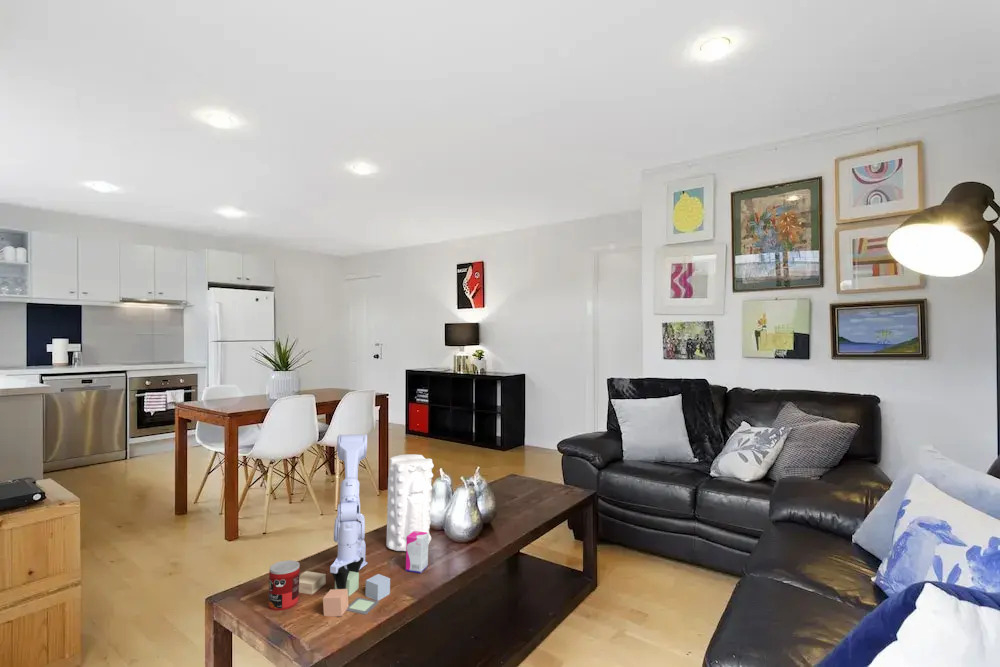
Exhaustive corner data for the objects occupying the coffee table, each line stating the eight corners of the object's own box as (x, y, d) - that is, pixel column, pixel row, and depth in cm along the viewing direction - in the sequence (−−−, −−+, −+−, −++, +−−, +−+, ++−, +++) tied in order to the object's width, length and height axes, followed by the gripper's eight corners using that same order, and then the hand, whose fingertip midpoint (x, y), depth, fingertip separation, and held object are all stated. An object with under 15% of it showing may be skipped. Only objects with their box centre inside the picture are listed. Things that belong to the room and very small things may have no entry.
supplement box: (428, 566, 171) (429, 532, 171) (421, 573, 165) (422, 538, 165) (412, 563, 173) (413, 530, 173) (404, 571, 167) (405, 536, 167)
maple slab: (305, 582, 158) (305, 571, 158) (325, 585, 157) (325, 573, 157) (291, 592, 152) (291, 581, 152) (312, 596, 150) (312, 584, 150)
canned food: (264, 604, 145) (265, 565, 145) (292, 594, 150) (293, 557, 150) (274, 615, 139) (275, 574, 139) (303, 604, 145) (304, 566, 145)
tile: (357, 598, 149) (357, 596, 149) (379, 602, 147) (379, 601, 147) (343, 610, 142) (344, 608, 142) (365, 615, 140) (365, 613, 140)
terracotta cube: (331, 607, 144) (330, 589, 144) (348, 606, 143) (347, 588, 143) (324, 616, 139) (322, 598, 139) (341, 616, 138) (340, 597, 138)
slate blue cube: (377, 590, 154) (378, 573, 154) (389, 595, 152) (390, 578, 152) (365, 597, 150) (365, 580, 150) (377, 602, 147) (377, 585, 147)
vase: (420, 532, 200) (422, 451, 200) (438, 547, 186) (440, 460, 187) (378, 540, 191) (381, 456, 191) (394, 557, 177) (396, 465, 178)
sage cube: (344, 586, 156) (344, 570, 156) (358, 589, 154) (358, 572, 154) (334, 594, 151) (335, 577, 151) (349, 597, 150) (349, 580, 150)
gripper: (345, 553, 145) (344, 600, 145) (372, 534, 159) (371, 578, 158) (324, 549, 147) (323, 596, 147) (352, 531, 161) (351, 574, 160)
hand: (346, 586), depth 153 cm, fingers closed on sage cube, 5 cm apart
